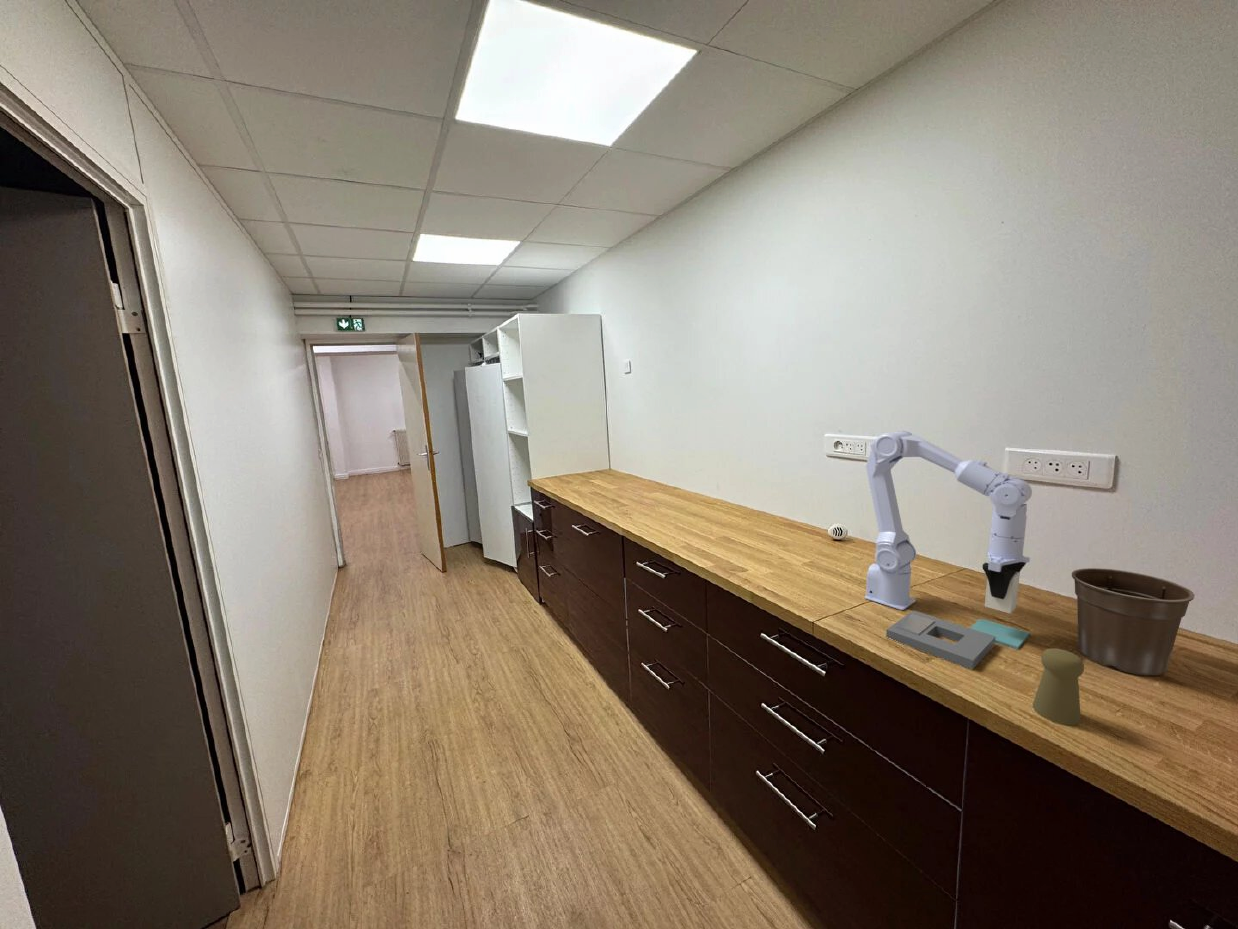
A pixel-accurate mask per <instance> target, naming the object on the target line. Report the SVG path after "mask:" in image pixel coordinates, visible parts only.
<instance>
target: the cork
mask: <svg viewBox="0 0 1238 929" xmlns="http://www.w3.org/2000/svg"><path fill="white" fill-rule="evenodd" d="M1040 660H1041V664H1042V666H1043V670H1042V675H1041V678H1040V680H1039V684H1038V687H1037V690H1036V693H1035V696H1034V700H1033V703H1032V708H1034V709H1033V710H1034V712H1036V713H1037V714H1038V715H1039V714H1040V715H1039V716H1041V717H1043V718H1044V719H1046V718H1047V719H1046V720H1048V719H1049V720H1048V721H1050V720H1051V721H1050V722H1052V723H1057V724H1059V725H1064V726H1068V727H1069V726H1071V727H1072V726H1073V727H1074V726H1079V725H1080V724H1081V723H1082V718H1081V715H1082V714H1081V704H1080V689H1079V688H1080V686H1079V685H1080V684H1079V677H1081V676H1082V675H1083V673H1084V671H1085V664H1084V661H1083V660H1082V658H1081V657H1079V656H1078V655H1076V654H1075V653H1074V652H1070V651H1068V650H1066V649H1065V650H1064V649H1062V648H1047V649H1045V650H1044V651H1043V652H1042V654H1041V658H1040Z"/></svg>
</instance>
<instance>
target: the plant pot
mask: <svg viewBox="0 0 1238 929" xmlns="http://www.w3.org/2000/svg"><path fill="white" fill-rule="evenodd" d="M1071 577H1072V579H1073V580H1074V594H1075V595H1076V598H1077V599H1076V600H1077V604H1076V605H1077V608H1076V609H1077V637H1078V638H1077V640H1078V642H1077V647H1078V649H1077V650H1078V651H1079V652H1080V653H1081V654H1082V655H1084V656H1085V657H1086V658H1088V659H1090V660H1091V661H1093V662H1095V663H1098V664H1099V665H1101V666H1104V667H1107V666H1110V667H1111V666H1112V667H1115V668H1116V669H1117V670H1119V672H1124V673H1129V674H1132V675H1139V676H1160V675H1164V674H1165V673H1166V671H1167V670H1168V669H1169V668H1168V667H1169V663H1170V659H1171V657H1172V656H1171V655H1172V653H1173V649H1174V646H1175V642H1176V638H1177V635H1178V632H1179V628H1180V625H1181V621H1182V618H1184V617H1185V616H1186V614H1187V610H1188V607H1189V605H1190V602H1192V601H1193V600H1194V599H1195V593H1194V592H1193V591H1192V590H1191V589H1189V588H1188V587H1185V586H1183V585H1180V584H1178V583H1176V582H1174V581H1170V580H1168V579H1164V578H1160V577H1156V576H1151V575H1147V574H1145V573H1144V574H1142V573H1139V572H1132V571H1127V570H1126V571H1125V570H1120V569H1112V568H1101V567H1100V568H1097V567H1095V568H1093V567H1091V568H1090V567H1089V568H1080V569H1075V570H1073V571H1072V572H1071Z"/></svg>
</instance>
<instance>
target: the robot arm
mask: <svg viewBox="0 0 1238 929" xmlns="http://www.w3.org/2000/svg"><path fill="white" fill-rule="evenodd" d="M870 449H871V450H870V452H869V455H868V458H867V461H866V464H865V468H866V474H867V477H868V484H869V487H870V488H869V489H870V494H871V498H872V503H873V507H874V508H873V509H874V512H875V514H874V515H875V518H876V523H877V528H878V533H879V534H878V536H877V539H876V541H875V547H876V550H875V554H874V560H875V562H876V563H872V564H870V565H869V568H868V570H867V573H866V574H867V575H866V587H865V588H866V589H865V590H866V591H865V596H864V599H866V600H869V601H872V602H875V603H878V604H882V605H885V606H887V607H890V608H893V609H897V610H899V611H905V610H906V609H907V608H908V607H910V606H911V605H912V604H914V603H915V602H916V600H917V599H915V598H912V597H910V596H911V595H910V594H911V593H910V592H911V579H912V566H911V563H912V562H913V561H914V560H915V559H916V557H917V550H916V548H915V547H914V545H913V544H912V543H911V540H910V536H909V534H907V533H906V532H905V530H904V529H903V525H902V519H901V514H900V508H899V505H898V499H897V495H896V490H895V486H894V484H895V483H894V481H893V476H892V469H893V468H894V467H895V466H896V464H898V462H899V461H900V460H902V459H903V458H916V457H917V458H922V459H923V460H926V461H928V462H930V463H932V464H935V465H937V466H939V467H941V468H943V469H945V470H947V471H949V472H951V473H954V475H955V478H956V481H957V482H959V483H961V484H962V485H965V486H967V488H968V487H969V488H970V489H972V490H973V491H976V492H977V493H980V494H981V495H984V496H985V497H989V500H990V501H991V502H992V504H993V508H992V513H991V522H990V535H989V542H988V551H987V553H986V554H987V558H988V562H984V563H982V566H981V567H982V570H983V572H984V573H985V575H986V579H987V578H988V581H989V586H990V592H991V595H992V597H996V598H1000V599H1004V598H1005V596H1006V593H1007V590H1008V586H1009V583H1010V581H1011V579H1012V577H1013V576H1014V575H1015V573H1016V572H1019V573H1021V571H1022V570H1023V568H1024V567H1025V566H1026V564H1027V563H1029V562H1030V561H1031V560H1030V559H1031V558H1030V557H1028V556H1024V554H1023V553H1024V545H1025V536H1026V526H1027V516H1028V515H1027V511H1028V503H1027V502H1028V501H1029V500H1030V499H1031V497H1032V494H1033V491H1032V487H1031V485H1030V484H1029V483H1028V482H1026V480H1024V479H1023V478H1021V477H1011V474H1010V473H1008V472H1004V473H1002V472H1000V471H998V470H997V469H994V468H993V467H990V466H988V465H987V461H985V460H983V459H981V460H978V461H977V460H975V459H970V460H963V459H961V458H960V457H958V456H955V455H954V454H952V453H950V452H949V451H947V450H945V449H943V448H941V447H940V446H938V445H935V443H932V442H930V441H928V440H926V439H925V438H923V437H921V436H920V435H917V434H912V433H911V432H910V431H907V430H898V431H895V432H886V433H882V434H880V435H878V436H877V438H875V440H874V441H872V443H871V444H870Z"/></svg>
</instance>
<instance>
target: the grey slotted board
mask: <svg viewBox="0 0 1238 929" xmlns="http://www.w3.org/2000/svg"><path fill="white" fill-rule="evenodd" d="M885 633H886V634H885V635H886V636H885V638H886V637H888V638H891V639H893V640H896V641H898V642H897V643H899V642H900V643H899V644H901V643H903V644H902V645H904V644H907V645H909V646H911V647H910V648H912V647H913V648H912V649H915V650H917V649H918V651H920V650H922V651H921V652H923V651H925V652H926V653H925V652H924V653H925V654H928V653H930V654H929V655H931V654H932V655H931V656H933V655H934V657H936V656H938V657H937V658H939V657H940V658H939V659H942V658H943V659H942V660H944V659H945V661H947V660H948V662H950V663H952V662H954V663H953V664H955V663H956V664H955V665H958V664H959V665H958V666H960V665H961V667H963V668H966V669H969V670H971V669H973V670H974V669H975V667H976V666H978V664H980V662H981V661H982V660H983V659H984V657H986V655H987V654H989V652H990V651H991V650H992V649H993V647H994V646H996V642H995V638H996V636H993V635H990V634H987V633H983V632H980V631H977V630H974V629H971V628H970V627H967V626H964V625H961V624H958V623H954V622H951V621H947V620H945V619H941V618H938V617H935V616H932V615H929V614H926V613H922V612H919V611H917V610H912V611H910V612H909V613H908V614H906V615H904V617H902V618H901V619H899V620H898V621H897V622H895V623H894V624H892V625H891V626H889V627H888V628H887V629H886V632H885ZM935 635H936V636H935ZM937 636H940V637H943V638H946V639H948V640H951V641H954V642H956V643H953V642H950V641H948V640H944V639H942V638H939V637H937ZM888 638H887V639H888ZM893 640H892V641H893ZM896 641H895V642H896ZM907 645H906V646H907ZM909 646H908V647H909Z"/></svg>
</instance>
